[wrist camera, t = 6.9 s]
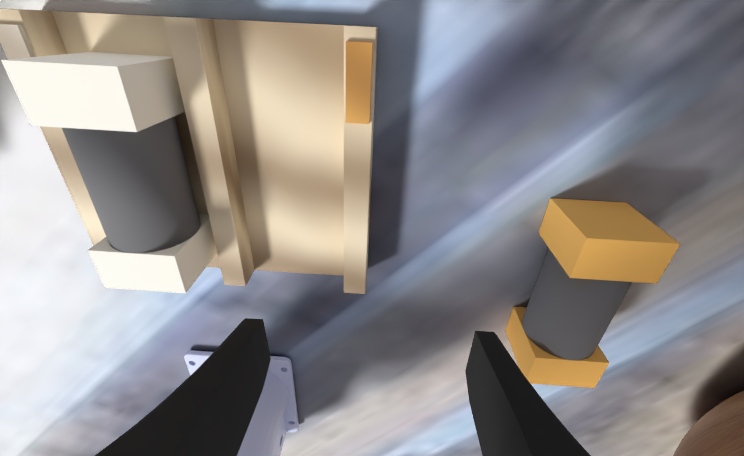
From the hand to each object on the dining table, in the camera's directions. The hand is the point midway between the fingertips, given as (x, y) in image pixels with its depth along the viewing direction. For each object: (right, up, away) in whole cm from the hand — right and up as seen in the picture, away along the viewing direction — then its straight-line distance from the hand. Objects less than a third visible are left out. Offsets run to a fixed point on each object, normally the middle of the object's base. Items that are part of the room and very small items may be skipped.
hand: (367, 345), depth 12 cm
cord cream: (-10, +7, +6) cm, 14 cm away
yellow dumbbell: (+12, +1, +9) cm, 15 cm away
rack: (-7, +8, +6) cm, 12 cm away
